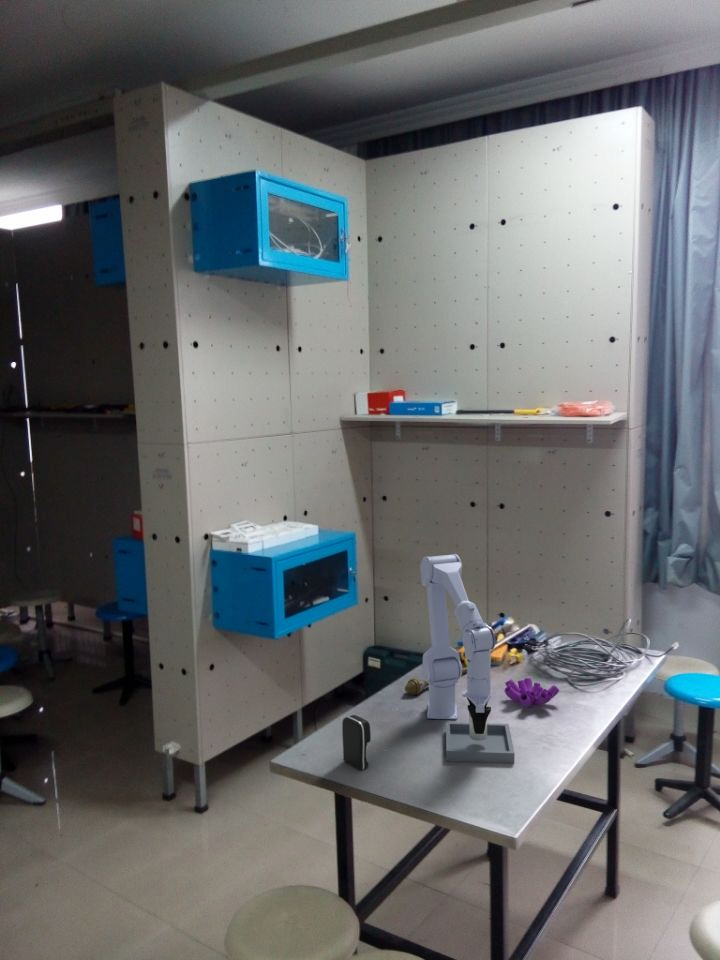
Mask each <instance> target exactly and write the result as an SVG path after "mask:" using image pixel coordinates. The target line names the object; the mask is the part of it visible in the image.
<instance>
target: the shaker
mask: <svg viewBox="0 0 720 960" xmlns="http://www.w3.org/2000/svg"><path fill="white" fill-rule="evenodd" d="M468 723H469V737H470V738H471V739H473V740H485V739H486V738H487V723H488V720H487V721H486V725H485V730H484V734H475V732H474V727H473V721H472V717H471V715H470V713H469V712H468Z"/></svg>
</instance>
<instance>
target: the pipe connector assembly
mask: <svg viewBox="0 0 720 960" xmlns="http://www.w3.org/2000/svg"><path fill="white" fill-rule="evenodd" d="M504 684H505V686H506V687H505V688H504V690H503V691H504V693H505V695H506V697H508V698H509V699H510V700H511V701H513V702H515V703H519V704H522V705H523V706H524V707H527V708H529V707H533V706H542V705H544V704H547V703H549V702H550V701H552V699H553V698H555V696H557V695H558V694H559V692H560V688H559V687H558V686H556V685H555V684H553V685H552V686H551V687H549V688H548V689H545V688H544V687H542V686H541V683H539V682H534V684H533V681H532V677H525V678H524V679H522V680H518V681H517V684H516V683H515V681H514V680H513V679H512V678H510V679H509V680H507V681H506V682H504Z"/></svg>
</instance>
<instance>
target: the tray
mask: <svg viewBox="0 0 720 960" xmlns="http://www.w3.org/2000/svg"><path fill="white" fill-rule="evenodd" d="M511 735H512V734H511V729H510V725H509V723H489V722H487V738H486V739H485V740H473V739H471V738H470V737H469V722H454V721H449V722H447V721H446V722H445V745H446V747H445V748H446V749H445V752H446V755H445V757H446V758H445V760H446V762H465V763H466V762H467V763H469V762H470V763H471V762H472V763H491V764H492V763H494V764H515V749H514V744H513V739H512V736H511Z"/></svg>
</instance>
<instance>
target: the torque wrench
mask: <svg viewBox="0 0 720 960" xmlns="http://www.w3.org/2000/svg"><path fill="white" fill-rule="evenodd" d="M463 674H467V666H466V667H462V675H463ZM406 683H407V684H406V685H405V686H404V692H406V693H408V694H409V695H413V696H417V695H419V694H420V693H421V692H422V691H423V690H425V688H427V687H429V683H427V682H426V681H425V679H418V678H417V679H416V678H411V679H409V680H408V681H407V682H406Z"/></svg>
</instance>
